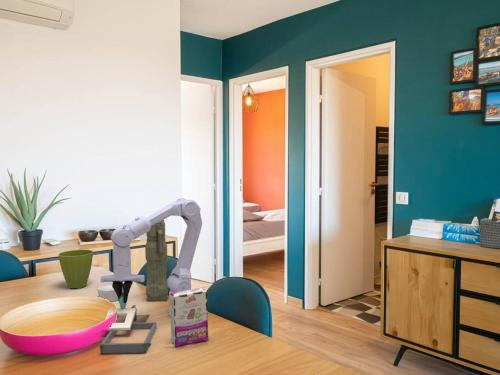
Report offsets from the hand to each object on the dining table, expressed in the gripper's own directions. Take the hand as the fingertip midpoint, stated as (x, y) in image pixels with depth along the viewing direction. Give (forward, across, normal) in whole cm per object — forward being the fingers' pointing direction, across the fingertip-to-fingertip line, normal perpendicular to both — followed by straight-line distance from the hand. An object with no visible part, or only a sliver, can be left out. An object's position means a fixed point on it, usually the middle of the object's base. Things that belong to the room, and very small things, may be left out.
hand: (123, 302), depth 147 cm
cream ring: (+4, 0, +3) cm, 5 cm away
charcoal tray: (+9, -5, +11) cm, 15 cm away
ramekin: (+10, +14, -33) cm, 38 cm away
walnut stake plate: (+9, 0, -5) cm, 10 cm away
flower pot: (+10, +36, -51) cm, 63 cm away
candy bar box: (+10, -24, +11) cm, 28 cm away
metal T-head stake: (+8, -2, -6) cm, 10 cm away
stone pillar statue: (+10, -6, -31) cm, 33 cm away
